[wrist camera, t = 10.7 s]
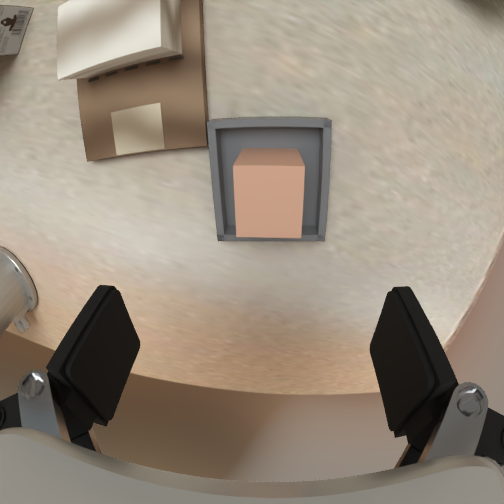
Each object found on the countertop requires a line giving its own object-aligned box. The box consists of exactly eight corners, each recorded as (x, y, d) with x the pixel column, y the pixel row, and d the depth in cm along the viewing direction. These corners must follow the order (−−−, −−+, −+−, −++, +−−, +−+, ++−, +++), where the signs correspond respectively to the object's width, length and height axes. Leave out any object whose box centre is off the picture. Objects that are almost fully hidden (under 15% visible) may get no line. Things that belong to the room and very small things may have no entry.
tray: (321, 229, 26) (324, 241, 24) (222, 228, 27) (217, 240, 25) (326, 118, 21) (331, 120, 19) (213, 119, 21) (206, 121, 19)
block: (295, 205, 24) (301, 238, 19) (244, 204, 25) (236, 237, 19) (297, 148, 22) (305, 166, 17) (243, 148, 22) (232, 165, 17)
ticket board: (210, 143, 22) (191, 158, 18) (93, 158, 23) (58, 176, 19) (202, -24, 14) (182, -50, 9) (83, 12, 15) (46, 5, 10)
